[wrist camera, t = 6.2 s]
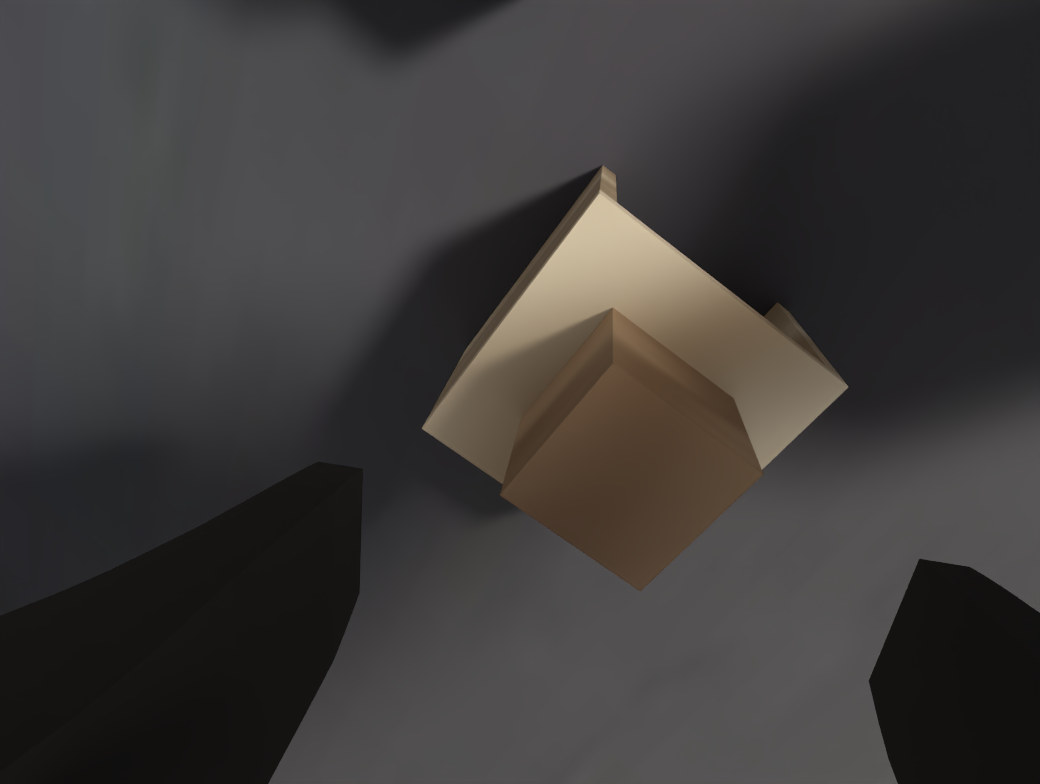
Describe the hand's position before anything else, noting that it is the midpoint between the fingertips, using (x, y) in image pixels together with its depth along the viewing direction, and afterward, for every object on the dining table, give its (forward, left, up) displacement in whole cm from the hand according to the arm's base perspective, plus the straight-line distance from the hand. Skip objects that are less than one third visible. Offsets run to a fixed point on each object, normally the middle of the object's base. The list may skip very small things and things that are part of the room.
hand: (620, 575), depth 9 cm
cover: (0, 0, -10) cm, 10 cm away
